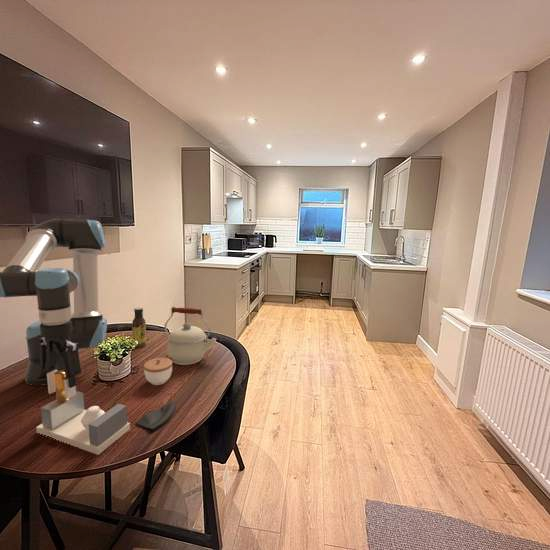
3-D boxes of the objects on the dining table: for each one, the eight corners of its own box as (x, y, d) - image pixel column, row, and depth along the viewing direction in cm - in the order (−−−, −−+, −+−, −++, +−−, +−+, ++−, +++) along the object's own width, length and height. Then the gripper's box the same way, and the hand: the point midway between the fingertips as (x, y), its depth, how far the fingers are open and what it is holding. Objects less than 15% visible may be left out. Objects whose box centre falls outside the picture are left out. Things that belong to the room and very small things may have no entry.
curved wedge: (185, 410, 99) (185, 405, 99) (153, 434, 87) (152, 429, 87) (167, 402, 103) (167, 398, 103) (134, 425, 91) (134, 420, 91)
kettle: (155, 365, 129) (154, 311, 125) (174, 348, 147) (173, 301, 143) (209, 370, 127) (209, 315, 123) (221, 352, 145) (222, 304, 141)
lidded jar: (163, 390, 110) (162, 367, 109) (138, 386, 112) (137, 363, 111) (177, 376, 120) (177, 355, 119) (155, 373, 122) (154, 352, 121)
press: (36, 433, 85) (34, 408, 84) (72, 411, 96) (71, 389, 94) (98, 455, 78) (96, 428, 77) (130, 429, 88) (129, 405, 87)
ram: (42, 426, 85) (37, 379, 82) (75, 407, 94) (71, 364, 92) (52, 429, 84) (47, 381, 81) (84, 409, 93) (81, 366, 91)
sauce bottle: (143, 348, 147) (142, 310, 144) (130, 348, 146) (129, 310, 143) (148, 343, 153) (146, 307, 150) (136, 343, 153) (134, 306, 149)
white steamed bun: (88, 438, 81) (86, 416, 80) (77, 430, 84) (75, 408, 83) (110, 426, 86) (109, 405, 85) (99, 418, 90) (97, 398, 88)
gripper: (18, 320, 83) (26, 393, 87) (67, 330, 78) (73, 407, 81) (46, 313, 91) (52, 381, 94) (92, 322, 85) (97, 393, 88)
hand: (62, 393), depth 88 cm, fingers open, 6 cm apart
